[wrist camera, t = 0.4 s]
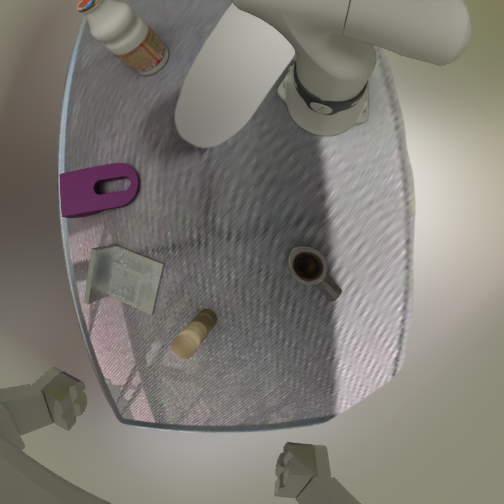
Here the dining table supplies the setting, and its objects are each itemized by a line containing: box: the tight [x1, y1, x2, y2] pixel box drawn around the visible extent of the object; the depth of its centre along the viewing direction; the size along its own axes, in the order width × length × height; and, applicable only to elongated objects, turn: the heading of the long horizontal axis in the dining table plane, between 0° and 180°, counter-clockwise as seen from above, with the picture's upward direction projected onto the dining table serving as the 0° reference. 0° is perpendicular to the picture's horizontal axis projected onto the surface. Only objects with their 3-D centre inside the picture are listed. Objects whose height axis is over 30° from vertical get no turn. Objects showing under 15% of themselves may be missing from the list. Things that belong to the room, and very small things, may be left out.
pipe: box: [288, 246, 342, 302], centre depth 51 cm, size 6×13×8 cm, turn 44°
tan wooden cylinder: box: [172, 309, 217, 359], centre depth 51 cm, size 4×4×15 cm
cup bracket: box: [85, 244, 165, 315], centre depth 56 cm, size 12×13×9 cm
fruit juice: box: [77, 0, 169, 76], centre depth 40 cm, size 9×9×28 cm
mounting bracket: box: [60, 163, 139, 218], centre depth 57 cm, size 10×8×18 cm
